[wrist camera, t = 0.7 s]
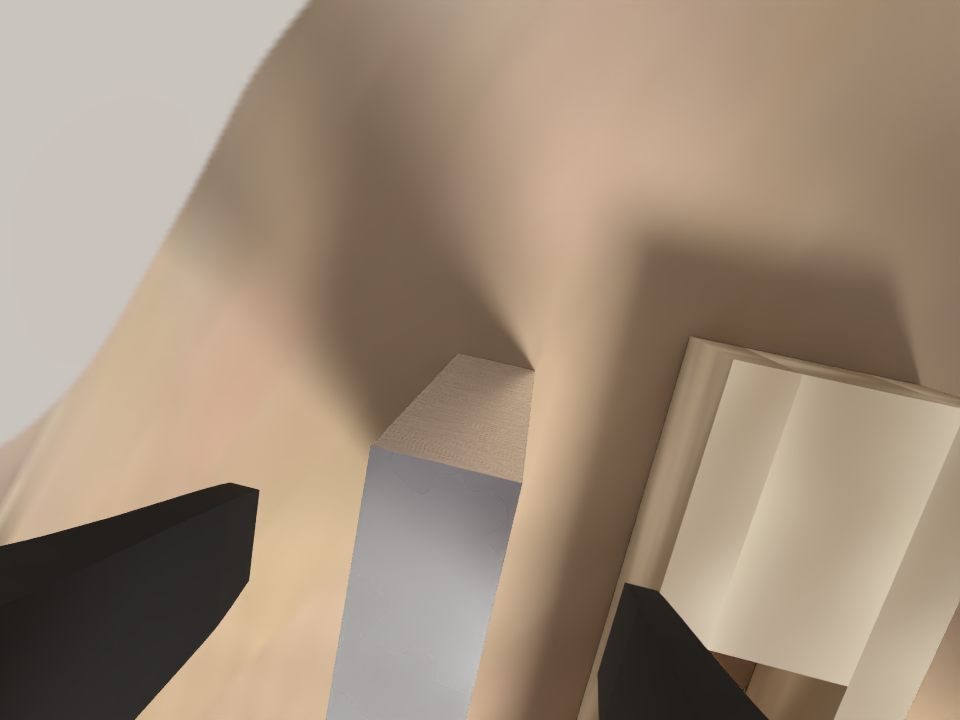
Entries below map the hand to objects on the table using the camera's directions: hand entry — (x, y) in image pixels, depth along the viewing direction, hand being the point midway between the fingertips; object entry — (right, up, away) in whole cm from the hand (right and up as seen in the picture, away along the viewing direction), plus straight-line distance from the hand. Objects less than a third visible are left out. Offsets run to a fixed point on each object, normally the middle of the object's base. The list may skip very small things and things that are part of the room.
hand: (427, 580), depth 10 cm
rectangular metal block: (+1, +1, +7) cm, 7 cm away
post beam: (+8, -6, +7) cm, 12 cm away
